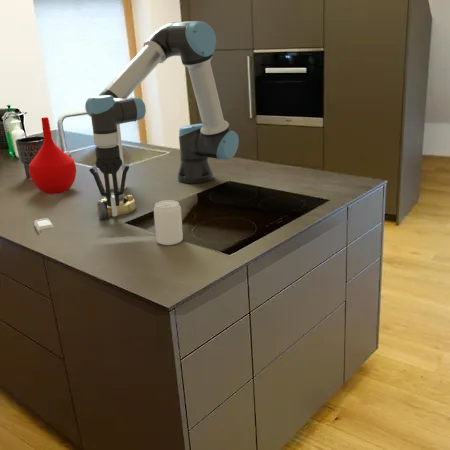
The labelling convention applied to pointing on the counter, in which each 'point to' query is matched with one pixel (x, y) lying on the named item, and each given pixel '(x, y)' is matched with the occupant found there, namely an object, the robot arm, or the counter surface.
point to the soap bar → (42, 224)
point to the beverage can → (168, 222)
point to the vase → (51, 166)
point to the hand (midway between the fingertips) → (115, 214)
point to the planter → (28, 150)
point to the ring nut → (124, 208)
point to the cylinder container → (120, 171)
